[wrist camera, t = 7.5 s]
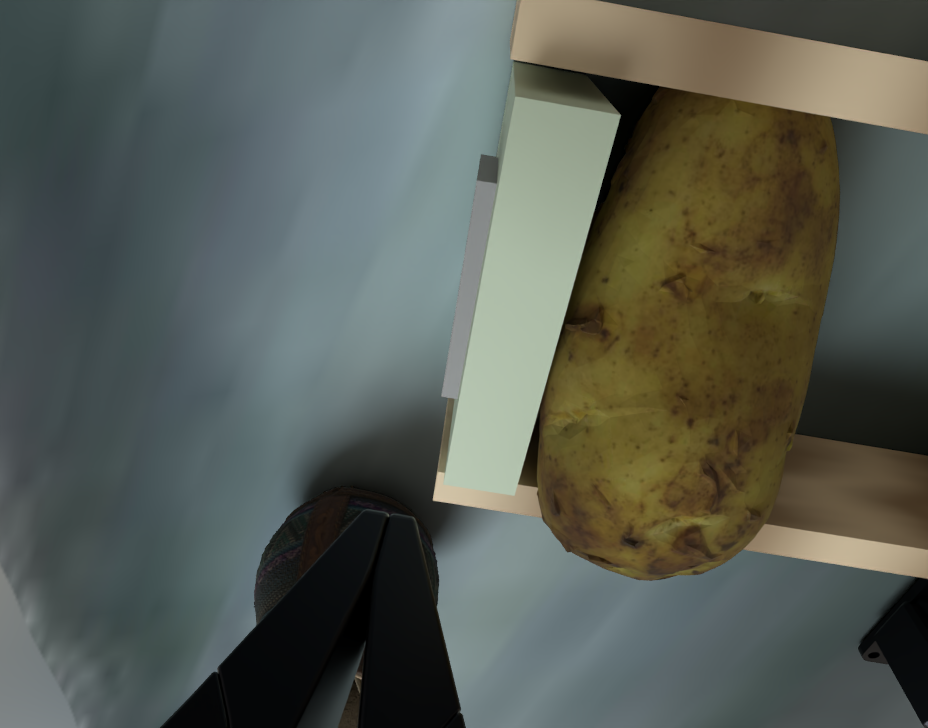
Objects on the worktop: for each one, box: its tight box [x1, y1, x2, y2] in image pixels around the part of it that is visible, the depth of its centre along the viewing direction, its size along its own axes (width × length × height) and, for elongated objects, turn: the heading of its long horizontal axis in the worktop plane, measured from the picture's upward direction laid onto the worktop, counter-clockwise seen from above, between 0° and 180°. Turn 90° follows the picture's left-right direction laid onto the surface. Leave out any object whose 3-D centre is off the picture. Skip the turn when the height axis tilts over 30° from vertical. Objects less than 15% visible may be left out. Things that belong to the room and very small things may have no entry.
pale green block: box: [441, 62, 621, 496], centre depth 16 cm, size 2×10×6 cm, turn 171°
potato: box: [537, 86, 840, 581], centre depth 16 cm, size 8×13×8 cm, turn 153°
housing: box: [433, 0, 928, 579], centre depth 16 cm, size 20×13×8 cm
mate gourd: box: [254, 486, 439, 728], centre depth 22 cm, size 7×8×10 cm
